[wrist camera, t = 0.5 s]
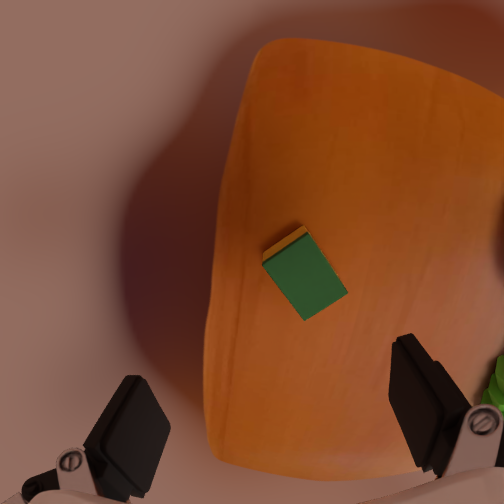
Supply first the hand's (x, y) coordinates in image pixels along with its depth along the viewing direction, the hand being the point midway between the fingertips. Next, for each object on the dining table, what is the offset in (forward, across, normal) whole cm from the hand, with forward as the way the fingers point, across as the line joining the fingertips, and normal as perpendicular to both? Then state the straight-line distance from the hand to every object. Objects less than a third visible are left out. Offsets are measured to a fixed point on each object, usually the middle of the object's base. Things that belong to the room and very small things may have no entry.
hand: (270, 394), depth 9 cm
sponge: (+21, -3, +3) cm, 21 cm away
